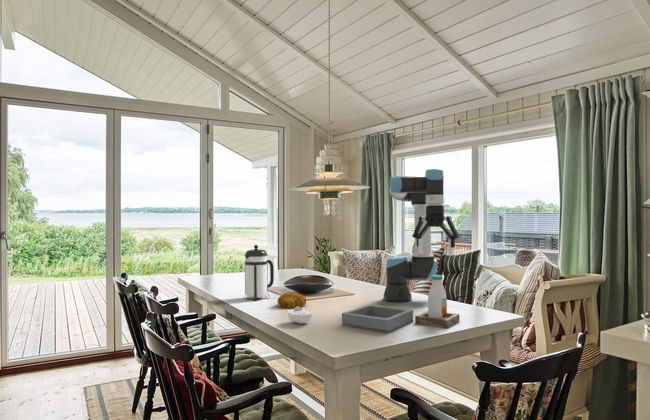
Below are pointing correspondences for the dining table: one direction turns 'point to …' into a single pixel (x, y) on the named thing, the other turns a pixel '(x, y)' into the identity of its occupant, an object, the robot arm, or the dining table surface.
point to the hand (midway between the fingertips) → (435, 254)
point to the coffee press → (257, 273)
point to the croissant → (291, 300)
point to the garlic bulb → (299, 315)
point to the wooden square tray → (437, 320)
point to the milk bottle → (437, 299)
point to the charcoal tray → (377, 318)
